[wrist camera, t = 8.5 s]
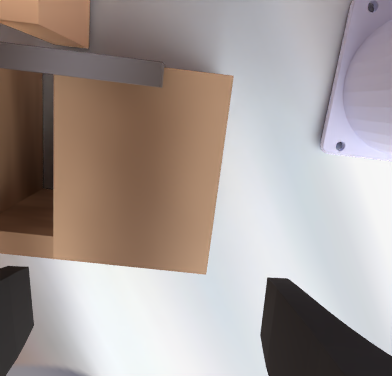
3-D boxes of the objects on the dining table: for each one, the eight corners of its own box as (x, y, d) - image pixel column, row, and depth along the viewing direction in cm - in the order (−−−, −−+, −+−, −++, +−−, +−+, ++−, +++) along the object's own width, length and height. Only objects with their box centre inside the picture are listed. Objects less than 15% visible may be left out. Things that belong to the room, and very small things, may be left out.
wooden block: (220, 82, 18) (236, 71, 11) (202, 221, 20) (206, 283, 13) (-81, 45, 17) (-258, 10, 10) (-66, 192, 19) (-206, 241, 12)
